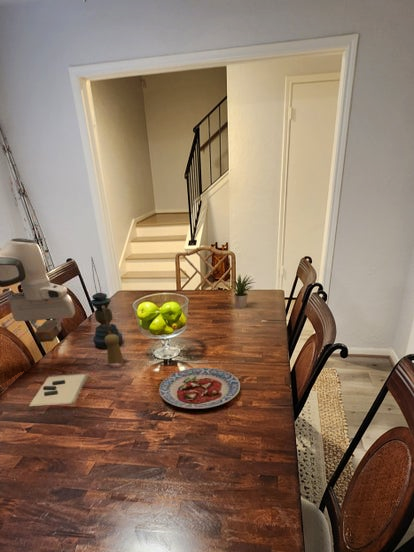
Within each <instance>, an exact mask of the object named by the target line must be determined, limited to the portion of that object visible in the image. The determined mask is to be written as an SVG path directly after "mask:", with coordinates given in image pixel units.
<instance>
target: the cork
mask: <svg viewBox="0 0 414 552" xmlns="http://www.w3.org/2000/svg"><path fill="white" fill-rule="evenodd" d="M104 341H105V343H106V344H107V349H106V352H107V353H106V354H107V362H108V363H109V364H121V365H122V364H124V363H125V360H124V359H125V358H124V356H123V354H122V350H121V347H120V345H119V344H118V343H119V337H118V336H117V335H115V334H110V335H107V336H106V337H105V340H104Z"/></svg>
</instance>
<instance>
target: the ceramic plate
mask: <svg viewBox="0 0 414 552" xmlns="http://www.w3.org/2000/svg"><path fill="white" fill-rule="evenodd" d="M240 389H241V382H240V381H239V379H238V377H236V376H235V375H234V374H233V373H230V372H228V371H226V370H223V369H220V368H214V367H193V368H188V369H184V370H180V371H177V372H175V373H173V374H170V375H169V376H167V377H166V378H165V379H163V380H162V382H161V383H160V384H159V387H158V392H159V395H160V397H161V399H163V400H164V401H165V402H166V403H168V404H170V405H172V406H175V407H178V408H183V409H191V410H197V409H209V408H210V409H211V408H214V407H215V408H216V407H217V406H221V405H224V404H226V403H228V402H230V401H232V400H233V399H234V398H235V397H236V396H237V395H239V392H240Z"/></svg>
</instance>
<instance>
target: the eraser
mask: <svg viewBox="0 0 414 552" xmlns="http://www.w3.org/2000/svg"><path fill="white" fill-rule="evenodd" d="M57 323H58V322H56V319H46V320H44V322H43V323H42V324H41V325H40V326H41V327H40V328H39V329H38V330H35V332H34V334H35V338H36V340H37V343H47V342H49V343H50V342H54V340H55V339H56V338H57V337H58V335H59V334H60V333H61V331H62V330H63V326H62V323H61V324H60V327H61V330H60V331H55V327H54V326H55V325H57Z"/></svg>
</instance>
